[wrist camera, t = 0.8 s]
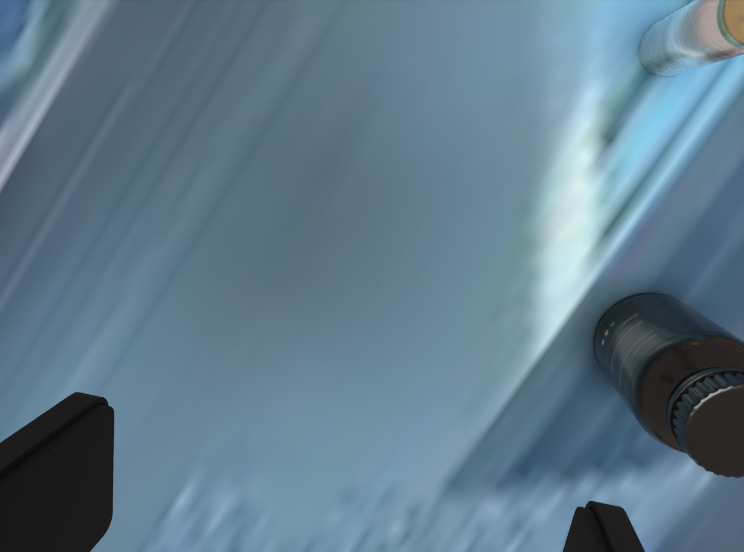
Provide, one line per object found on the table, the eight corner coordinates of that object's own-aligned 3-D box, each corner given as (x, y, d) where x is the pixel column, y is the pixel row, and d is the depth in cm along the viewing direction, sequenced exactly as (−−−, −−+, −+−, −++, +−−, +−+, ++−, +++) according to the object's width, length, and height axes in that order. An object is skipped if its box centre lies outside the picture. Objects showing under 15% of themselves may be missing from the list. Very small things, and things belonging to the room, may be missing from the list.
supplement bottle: (719, 311, 34) (860, 397, 22) (669, 399, 36) (776, 521, 24) (617, 275, 34) (705, 342, 23) (573, 365, 36) (634, 468, 25)
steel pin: (646, 15, 30) (739, -44, 21) (703, 20, 30) (825, -37, 20) (632, 73, 31) (716, 42, 22) (688, 79, 31) (799, 50, 21)
